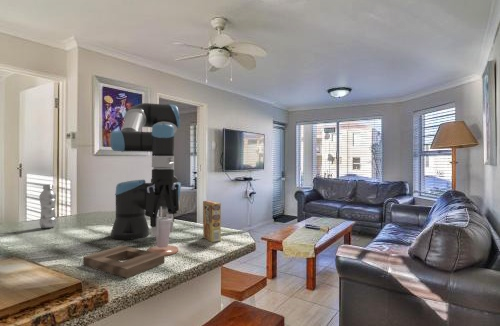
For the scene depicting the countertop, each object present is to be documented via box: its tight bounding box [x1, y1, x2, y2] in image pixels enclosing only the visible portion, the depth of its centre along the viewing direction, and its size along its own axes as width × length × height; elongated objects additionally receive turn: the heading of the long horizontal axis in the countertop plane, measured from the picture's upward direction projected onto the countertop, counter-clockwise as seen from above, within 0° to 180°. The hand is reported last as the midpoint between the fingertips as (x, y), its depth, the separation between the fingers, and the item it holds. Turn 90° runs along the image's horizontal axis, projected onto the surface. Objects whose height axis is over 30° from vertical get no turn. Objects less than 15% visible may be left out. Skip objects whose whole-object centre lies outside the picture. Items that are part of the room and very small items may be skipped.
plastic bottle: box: [38, 184, 58, 229], centre depth 140 cm, size 6×7×20 cm
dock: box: [82, 244, 165, 279], centre depth 94 cm, size 20×14×2 cm
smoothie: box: [155, 207, 172, 248], centre depth 107 cm, size 6×6×14 cm
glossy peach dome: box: [145, 244, 180, 257], centre depth 107 cm, size 11×11×1 cm
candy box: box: [202, 200, 222, 243], centre depth 123 cm, size 9×4×15 cm, turn 33°
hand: (162, 233), depth 107 cm, fingers closed on smoothie, 6 cm apart
